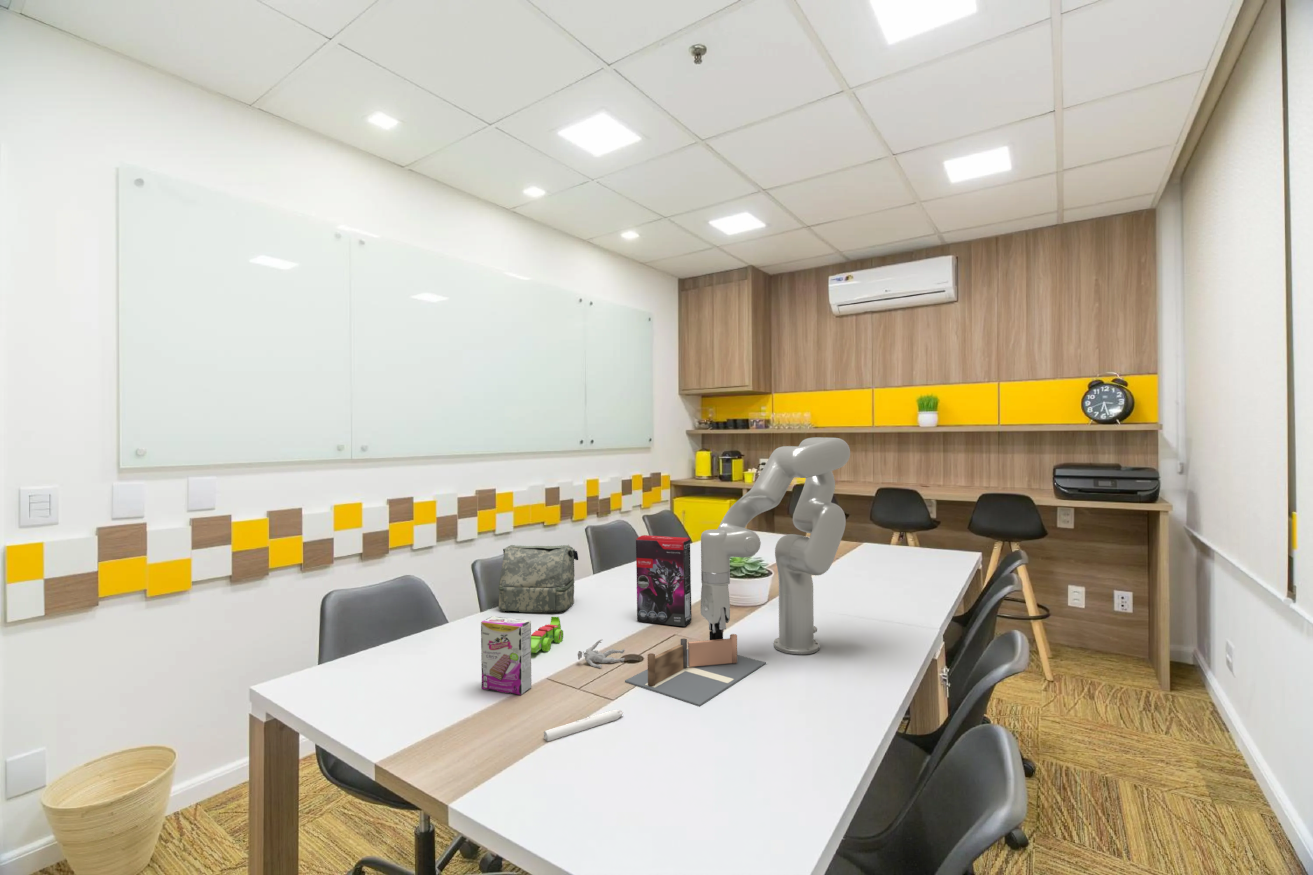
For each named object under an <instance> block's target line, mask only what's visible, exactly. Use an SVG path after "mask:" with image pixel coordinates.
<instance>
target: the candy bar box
mask: <svg viewBox="0 0 1313 875" xmlns="http://www.w3.org/2000/svg"><path fill="white" fill-rule="evenodd" d="M531 635H532V621H531V620H525V619H517V618H516V619H515V618H509V617H501V616H490V617H487V618H486V619H483V620H481V622H480V637H481V638H480V642H481V644H480V648H481V649H480V650H481V653H480V654H481V660H480V661H481V690H485V689H486V691H492V692H499V693H504V692H505V693H504V694H510V693H511V695H517V696H523V695H525V693H526V692H528V690H530V689H531V688H532V653H531Z"/></svg>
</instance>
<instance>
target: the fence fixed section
mask: <svg viewBox="0 0 1313 875" xmlns="http://www.w3.org/2000/svg"><path fill="white" fill-rule="evenodd" d="M687 649H688V639H687V638H680V644H678V645H675V646H673V647H671V648H669V649H666V650H665V651H663V652H660V653H658V654H655V653H653V652H652V653H650V652H649V653H648V654H647V669H648V686H655V684H656V683H658V682H660V681H662V680H664V679H666V678H668V677H669V676H671V675H673V674H675V673H677V672H679V671H681V670H683V669H686V668H687Z"/></svg>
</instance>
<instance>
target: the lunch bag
mask: <svg viewBox="0 0 1313 875" xmlns="http://www.w3.org/2000/svg"><path fill="white" fill-rule="evenodd" d="M502 550H503V559H502V564H501V571H500V578H499V581H498V610H500V611H502V612H505V611H519V612H518V613H547V612H552V613H561V612H563V611H566V610H568V609H569V608H570V607H571V606H573V604H574V602H575V598H574V597H575V561H579V555H578V551H577V550H576V549H575V548H573V547H572V546H571V545H569V544H566V545H565V544H564V545H515V544H514V545H513V544H510V545H508V546H506V547H505V548H502Z"/></svg>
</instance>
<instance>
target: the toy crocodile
mask: <svg viewBox="0 0 1313 875" xmlns="http://www.w3.org/2000/svg"><path fill="white" fill-rule="evenodd" d="M563 639H564V630H563V629H562V626H561V620H560V617H559V616H551V618H550V623H548V624H545V625H542V626H540V627H538V629H537V630H535V631H534V632H533V633H531V654H533V653H535V654H537V653H538V652H540V650H541V649H542V651H543V652H549V651H550V650H551V647H552V643H553V642H554V643H556V644H560V643H562V642H563Z"/></svg>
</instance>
